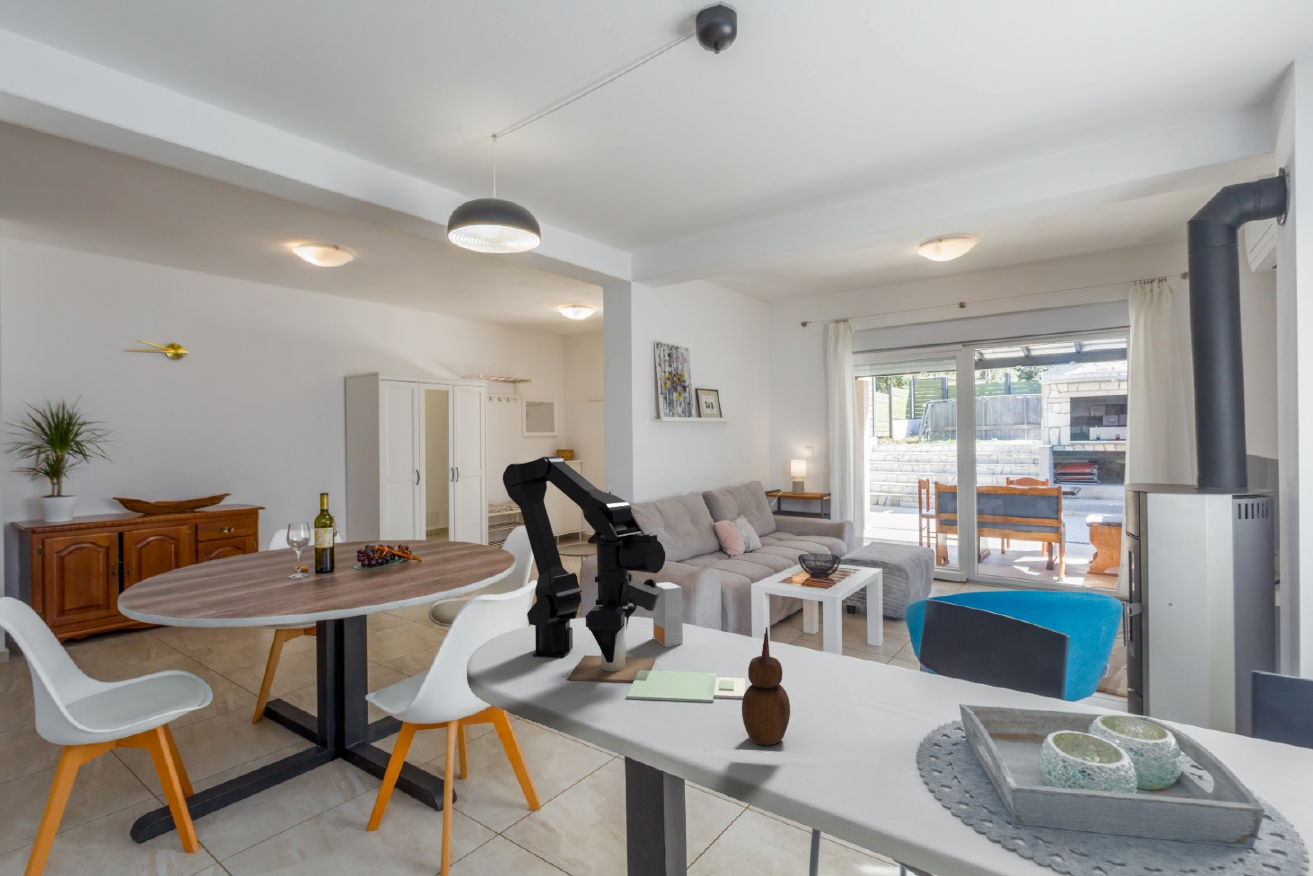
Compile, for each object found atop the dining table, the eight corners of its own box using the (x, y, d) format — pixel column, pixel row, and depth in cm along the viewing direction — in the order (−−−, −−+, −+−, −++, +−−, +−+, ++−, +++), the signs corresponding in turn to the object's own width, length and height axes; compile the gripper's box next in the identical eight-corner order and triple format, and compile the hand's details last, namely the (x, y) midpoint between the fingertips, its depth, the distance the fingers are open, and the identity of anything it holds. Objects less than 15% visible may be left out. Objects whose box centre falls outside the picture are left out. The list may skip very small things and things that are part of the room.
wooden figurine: (760, 725, 92) (758, 622, 92) (796, 736, 88) (794, 629, 89) (735, 742, 87) (733, 633, 87) (772, 755, 83) (770, 640, 83)
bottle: (598, 670, 114) (599, 611, 114) (604, 661, 119) (605, 604, 119) (622, 672, 114) (624, 612, 114) (627, 663, 118) (628, 605, 118)
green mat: (626, 698, 103) (626, 696, 103) (639, 672, 114) (639, 670, 114) (713, 702, 101) (713, 699, 101) (716, 675, 112) (716, 673, 112)
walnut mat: (567, 679, 111) (567, 677, 111) (584, 657, 123) (584, 655, 123) (645, 683, 109) (645, 680, 109) (655, 660, 121) (655, 657, 121)
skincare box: (652, 640, 134) (651, 583, 134) (670, 637, 135) (669, 581, 136) (665, 648, 128) (664, 589, 128) (683, 645, 130) (682, 586, 130)
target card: (707, 697, 103) (707, 692, 103) (710, 679, 111) (710, 675, 111) (744, 698, 102) (744, 694, 102) (745, 680, 110) (745, 676, 110)
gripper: (648, 578, 106) (651, 672, 105) (662, 560, 124) (665, 640, 124) (583, 578, 108) (586, 671, 107) (607, 560, 126) (610, 639, 125)
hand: (615, 654), depth 116 cm, fingers open, 9 cm apart
